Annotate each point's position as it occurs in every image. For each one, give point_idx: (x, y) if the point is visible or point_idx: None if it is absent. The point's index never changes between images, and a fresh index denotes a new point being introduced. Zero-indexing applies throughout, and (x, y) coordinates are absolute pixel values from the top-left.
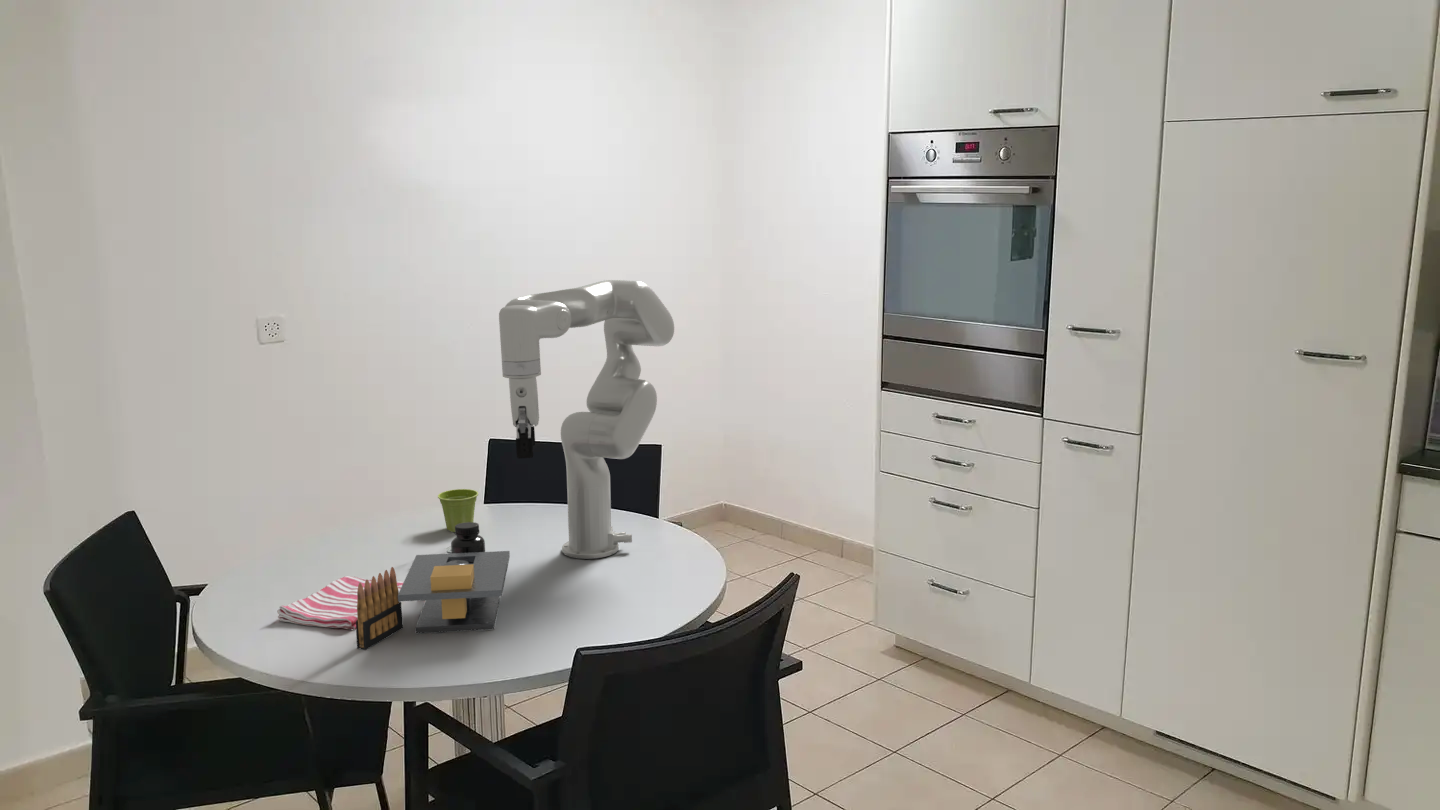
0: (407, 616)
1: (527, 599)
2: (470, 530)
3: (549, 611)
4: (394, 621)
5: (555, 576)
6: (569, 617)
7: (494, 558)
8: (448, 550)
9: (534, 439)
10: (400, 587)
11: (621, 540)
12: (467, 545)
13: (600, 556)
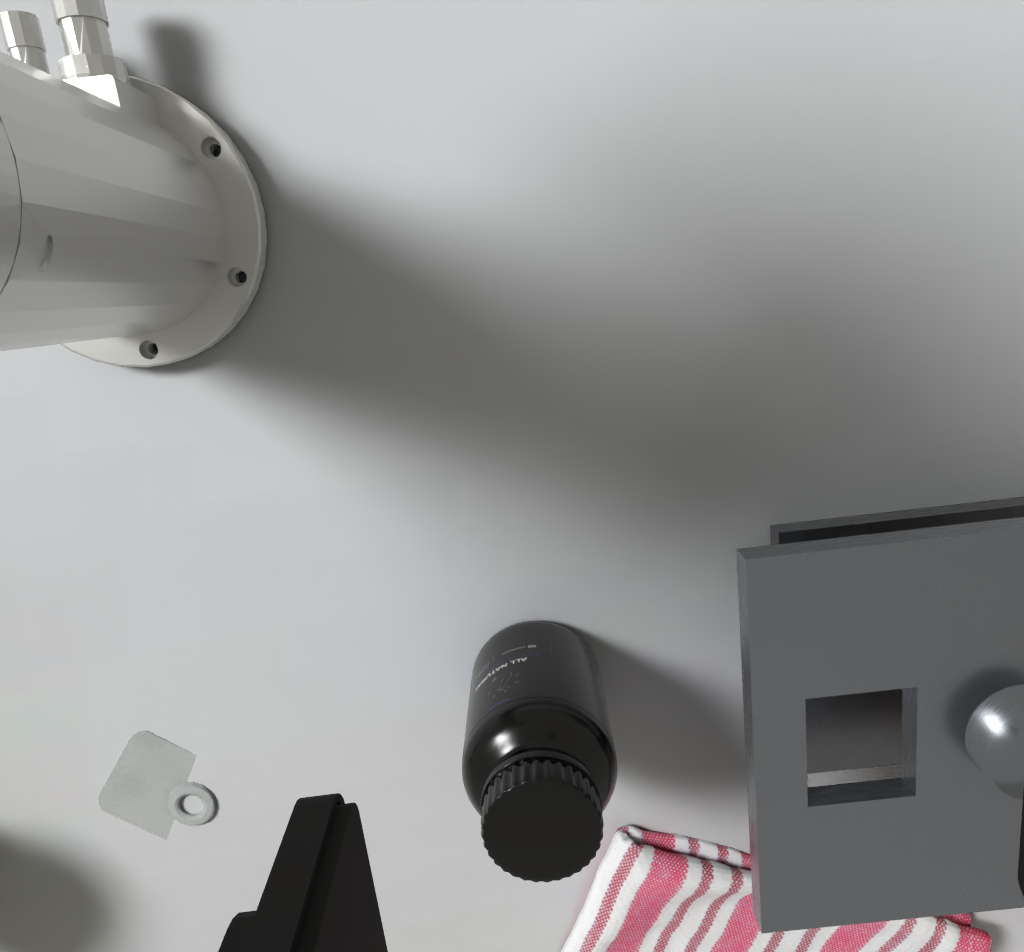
0: None
1: (755, 424)
2: (594, 797)
3: (897, 316)
4: None
5: (491, 349)
6: (975, 224)
7: (855, 608)
8: (194, 821)
9: (318, 859)
10: (703, 883)
11: (108, 39)
12: (615, 763)
13: (245, 162)
